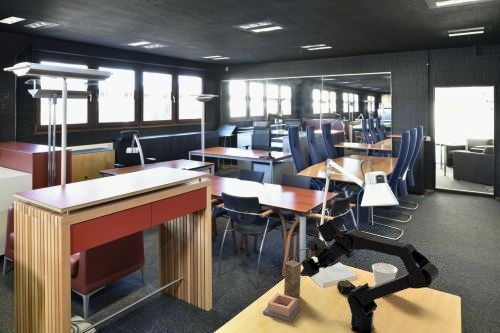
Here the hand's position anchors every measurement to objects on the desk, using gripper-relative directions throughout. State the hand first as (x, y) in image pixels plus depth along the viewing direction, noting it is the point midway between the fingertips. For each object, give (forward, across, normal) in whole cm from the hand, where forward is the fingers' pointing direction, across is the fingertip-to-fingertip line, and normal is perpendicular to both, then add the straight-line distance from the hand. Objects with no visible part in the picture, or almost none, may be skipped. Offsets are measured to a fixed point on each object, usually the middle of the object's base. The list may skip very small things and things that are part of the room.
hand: (308, 271), depth 145 cm
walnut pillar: (+15, 0, +4) cm, 15 cm away
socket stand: (+12, +11, +7) cm, 18 cm away
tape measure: (+6, -20, +14) cm, 25 cm away
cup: (-2, -29, +22) cm, 37 cm away
